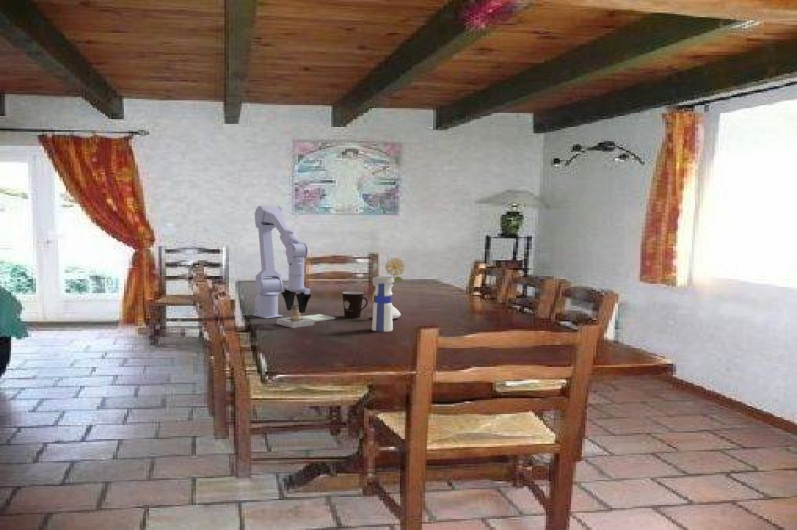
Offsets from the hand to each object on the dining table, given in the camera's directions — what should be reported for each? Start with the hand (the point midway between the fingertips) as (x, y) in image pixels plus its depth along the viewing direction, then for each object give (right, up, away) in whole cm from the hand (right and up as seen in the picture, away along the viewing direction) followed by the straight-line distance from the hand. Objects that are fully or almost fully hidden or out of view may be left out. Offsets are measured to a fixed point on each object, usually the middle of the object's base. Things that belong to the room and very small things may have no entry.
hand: (295, 311), depth 240 cm
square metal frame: (0, -5, 0) cm, 5 cm away
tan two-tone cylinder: (0, -5, 0) cm, 5 cm away
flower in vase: (+34, -5, +20) cm, 40 cm away
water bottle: (+32, -7, -5) cm, 33 cm away
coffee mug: (+20, -4, +20) cm, 28 cm away
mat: (+6, -4, +15) cm, 17 cm away
